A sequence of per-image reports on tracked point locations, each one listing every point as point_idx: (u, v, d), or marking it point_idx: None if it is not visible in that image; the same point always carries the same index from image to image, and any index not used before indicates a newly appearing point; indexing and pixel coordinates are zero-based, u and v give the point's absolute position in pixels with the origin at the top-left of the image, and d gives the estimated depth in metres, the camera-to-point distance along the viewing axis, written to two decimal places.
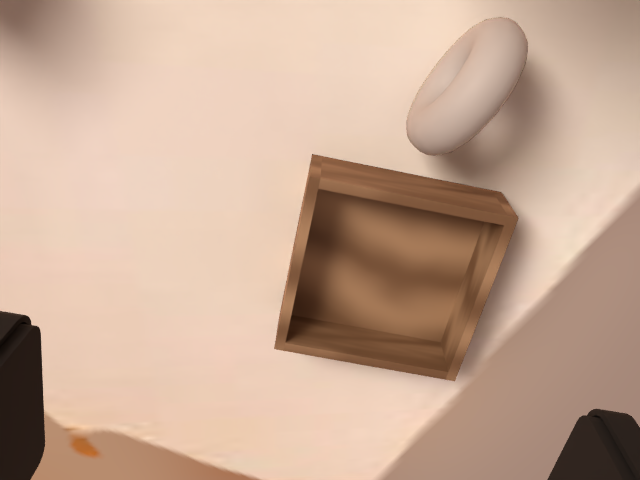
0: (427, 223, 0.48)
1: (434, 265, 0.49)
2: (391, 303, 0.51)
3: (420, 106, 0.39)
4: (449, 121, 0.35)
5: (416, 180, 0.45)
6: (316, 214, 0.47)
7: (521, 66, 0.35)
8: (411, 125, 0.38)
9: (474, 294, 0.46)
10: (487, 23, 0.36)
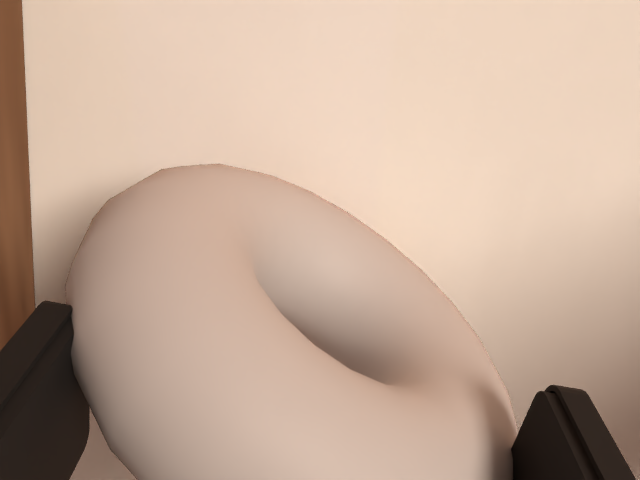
0: None
1: None
2: None
3: (241, 221, 0.11)
4: (212, 447, 0.08)
5: (5, 188, 0.15)
6: None
7: None
8: (169, 221, 0.10)
9: None
10: (505, 393, 0.12)
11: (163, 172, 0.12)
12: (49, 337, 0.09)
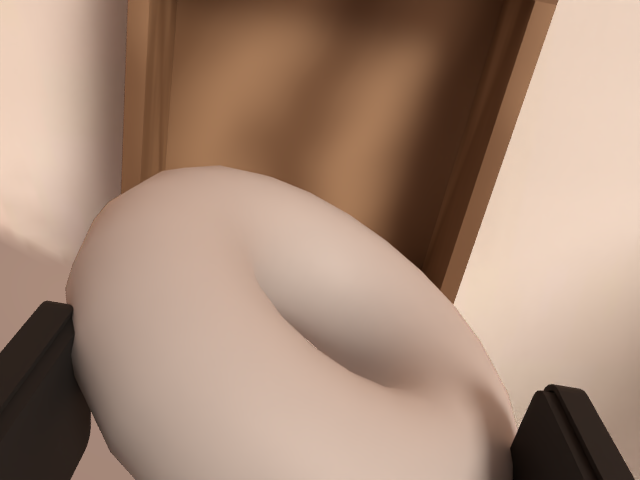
0: (390, 184, 0.29)
1: None
2: (230, 137, 0.28)
3: (241, 223, 0.11)
4: (213, 450, 0.08)
5: None
6: None
7: None
8: (169, 224, 0.10)
9: None
10: (505, 395, 0.12)
11: (163, 174, 0.12)
12: (51, 337, 0.09)
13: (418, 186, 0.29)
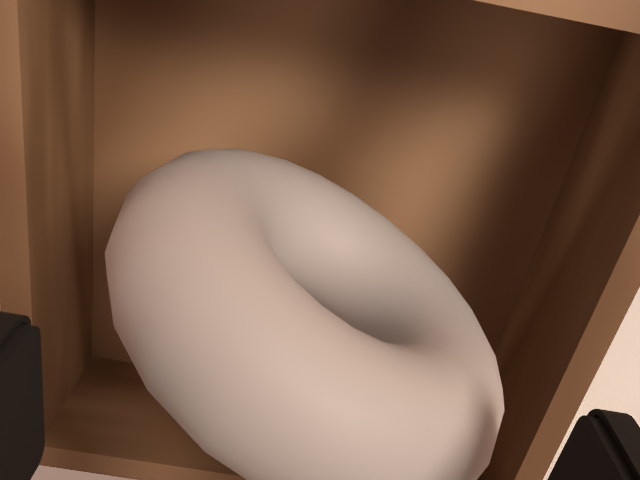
0: None
1: None
2: None
3: (257, 199, 0.13)
4: (236, 384, 0.09)
5: None
6: (478, 15, 0.15)
7: None
8: (196, 197, 0.11)
9: None
10: (492, 356, 0.14)
11: (188, 154, 0.13)
12: None
13: (470, 307, 0.20)
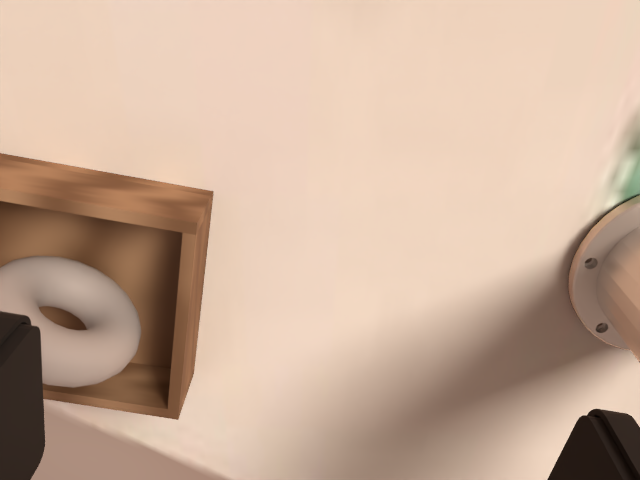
0: (148, 316, 0.42)
1: None
2: None
3: (34, 279, 0.36)
4: None
5: (198, 305, 0.41)
6: None
7: None
8: (4, 281, 0.34)
9: (77, 388, 0.41)
10: (127, 335, 0.36)
11: (12, 262, 0.36)
12: None
13: (167, 317, 0.42)
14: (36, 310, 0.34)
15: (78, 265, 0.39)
